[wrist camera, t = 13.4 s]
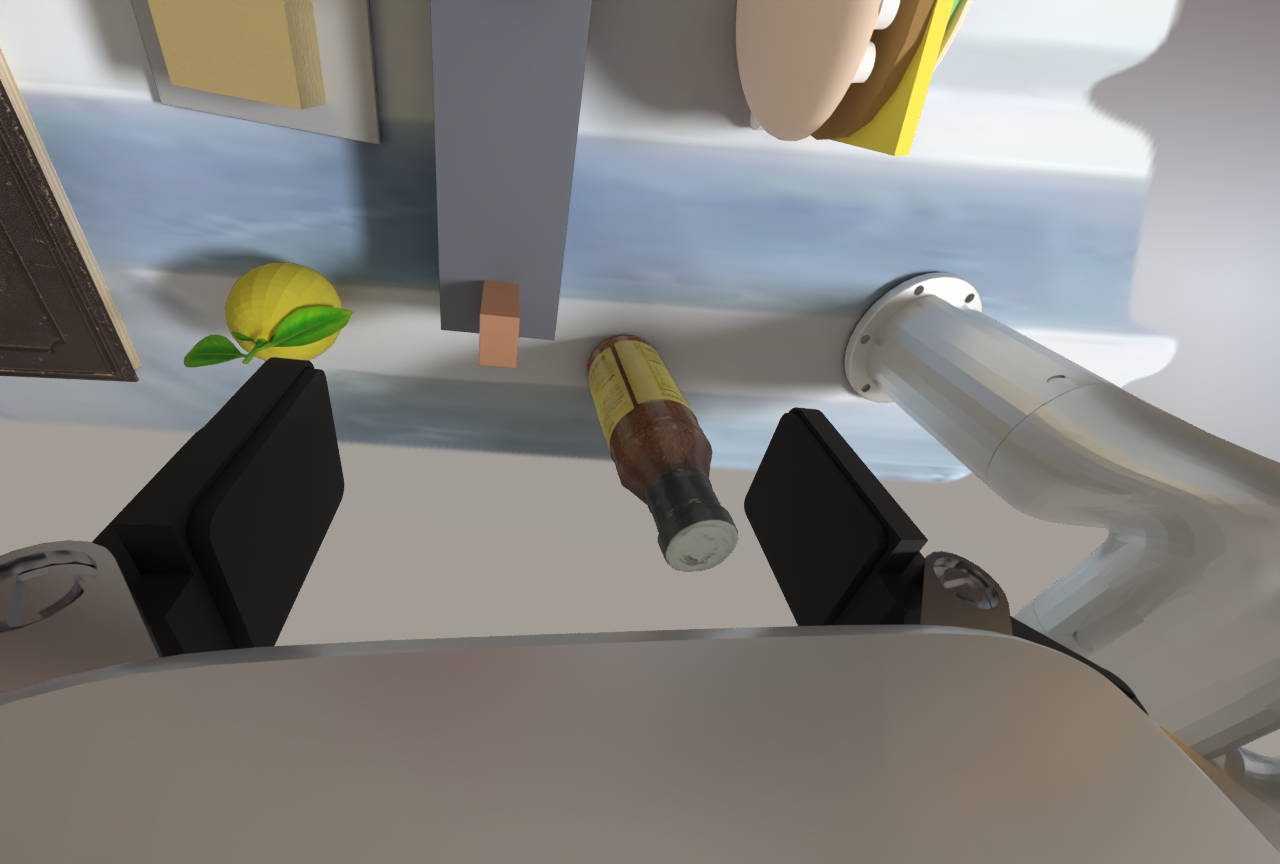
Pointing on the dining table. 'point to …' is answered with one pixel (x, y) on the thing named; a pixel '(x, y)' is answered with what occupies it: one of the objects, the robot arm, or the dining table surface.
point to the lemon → (276, 317)
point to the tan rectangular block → (243, 48)
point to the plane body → (505, 162)
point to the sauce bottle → (660, 452)
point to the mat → (343, 72)
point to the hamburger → (842, 66)
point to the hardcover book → (49, 267)
